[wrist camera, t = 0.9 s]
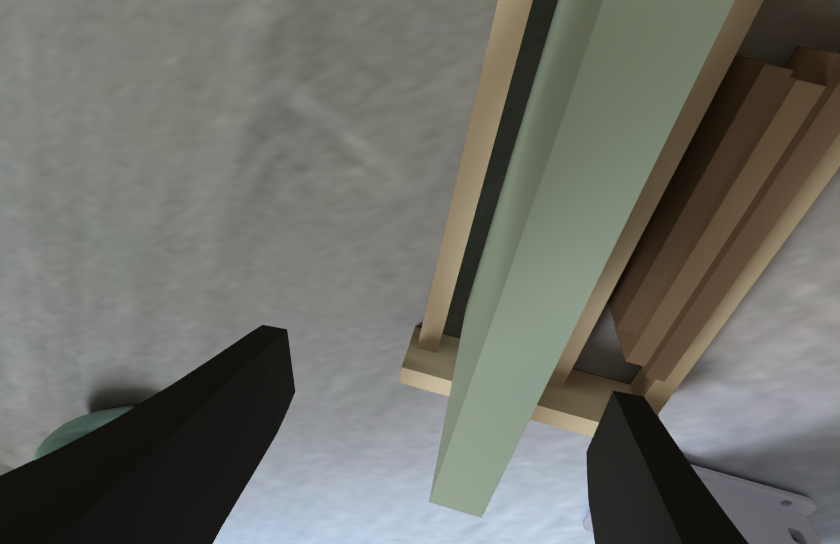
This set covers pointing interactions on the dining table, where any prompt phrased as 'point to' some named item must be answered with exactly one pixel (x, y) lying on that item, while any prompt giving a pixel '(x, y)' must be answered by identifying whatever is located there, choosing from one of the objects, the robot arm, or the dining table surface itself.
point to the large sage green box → (563, 215)
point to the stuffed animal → (78, 429)
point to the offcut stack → (724, 201)
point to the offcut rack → (578, 391)
